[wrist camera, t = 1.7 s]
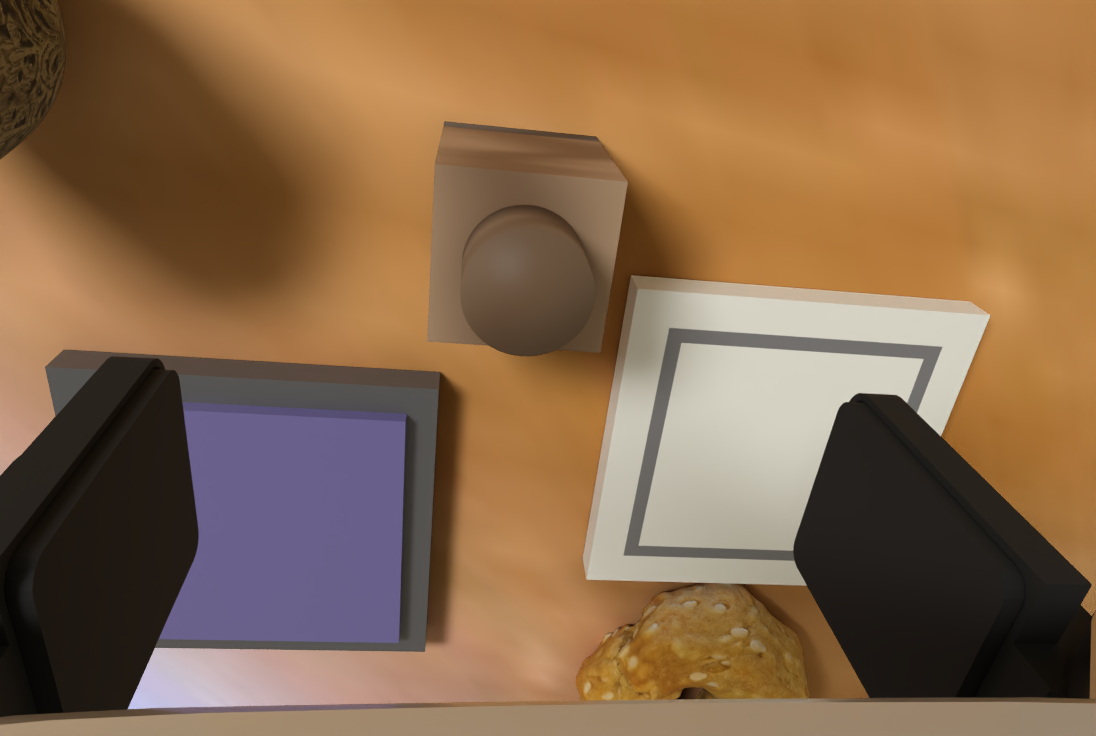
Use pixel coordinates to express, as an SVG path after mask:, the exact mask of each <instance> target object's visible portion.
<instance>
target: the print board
mask: <svg viewBox="0 0 1096 736" xmlns="http://www.w3.org/2000/svg"><path fill="white" fill-rule="evenodd" d="M989 318H990V315H989V314H988V313H986V312H985V311H983V310H982V309H980V308H979V307H977V306H976V305H974V304H973V303H971V302H970V301H957V300H944V299H932V298H919V297H906V296H893V295H880V294H867V293H854V292H841V291H828V290H815V289H803V288H790V287H777V286H764V285H751V284H738V283H725V282H712V281H699V280H687V279H674V278H661V277H648V276H635V275H631V278H630V284H629V290H628V296H627V301H626V307H625V313H624V319H623V325H622V331H621V337H620V343H619V348H618V354H617V360H616V366H615V372H614V378H613V384H612V390H611V395H610V401H609V407H608V413H607V419H606V425H605V431H604V436H603V442H602V448H601V454H600V460H599V466H598V472H597V478H596V483H595V489H594V495H593V501H592V507H591V513H590V519H589V525H588V530H587V536H586V542H585V548H584V554H583V562H584V568H585V574H586V579H587V580H620V581H657V582H694V583H731V584H768V585H805V586H807V585H806V583H805V581H804V579H803V577H802V576H801V574H800V572H799V570H798V569H797V566H796V564H795V560H794V554H793V547H794V541H795V538H796V535H797V532H798V529H799V526H800V523H801V520H802V517H803V514H804V511H805V508H806V505H807V502H808V499H809V496H810V493H811V490H812V487H813V484H814V481H815V478H816V475H817V472H818V469H819V466H820V463H821V460H822V457H823V454H824V451H825V448H826V445H827V442H828V439H829V436H830V433H831V430H832V427H833V424H834V421H835V418H836V415H837V412H838V410H839V407H840V406H841V405H842V404H843V403H845V402H849V401H850V400H851V398H852V397H853V396H854V395H856V394H858V393H869V394H889V395H898V396H899V397H901V398H902V399H903V400H904V401H905V402H906V403H907V404H908V405H909V406H910V407H911V408H912V409H913V410H914V411H915V412H916V413H917V414H918V415H919V416H920V417H921V418H922V419H924V420H925V421H926V422H927V423H928V424H929V425H930V426H931V427H932V428H933V429H934V430H935V431H936V432H937V433H938V434H939V435H940V436H941V435H942V433H943V430H944V428H945V425H946V423H947V420H948V418H949V415H950V413H951V411H952V408H953V406H954V403H955V401H956V398H957V396H958V393H959V391H960V389H961V386H962V384H963V381H964V379H965V376H966V374H967V371H968V369H969V367H970V364H971V362H972V359H973V357H974V354H975V352H976V349H977V347H978V345H979V342H980V340H981V337H982V335H983V332H984V330H985V328H986V325H987V323H988V320H989Z"/></svg>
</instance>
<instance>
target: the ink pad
mask: <svg viewBox="0 0 1096 736" xmlns="http://www.w3.org/2000/svg"><path fill="white" fill-rule="evenodd" d="M111 356H118V357H138V358H158V359H160V360H161V361H162V363H163V365H164V367H165V370H175V371H176V372H177V374H178V376H179V380H180V387H181V395H182V403H183V411H184V419H185V426H186V434H187V442H188V450H189V458H190V466H191V474H192V482H193V490H194V498H195V506H196V513H197V521H198V530H199V540H198V548H197V552H196V556H195V558H194V561H193V563H192V565H191V568H190V570H189V572H188V574H187V577H186V579H185V581H184V583H183V586H182V588H181V590H180V592H179V595H178V597H177V599H176V601H175V603H174V606H173V608H172V610H171V612H170V615H169V617H168V619H167V621H166V624H165V626H164V628H163V630H162V633H161V635H160V637H159V639H158V642H157V644H156V646H155V648H213V649H280V650H348V651H416V652H425V645H426V632H427V615H428V596H429V577H430V558H431V539H432V519H433V500H434V481H435V462H436V443H437V424H438V405H439V385H440V372H430V371H413V370H396V369H379V368H363V367H346V366H329V365H312V364H296V363H279V362H262V361H245V360H228V359H212V358H195V357H178V356H161V355H145V354H128V353H111V352H94V351H78V350H63V351H62V352H61V353H60V354H59V355H58V356H56V357H55V358H54V359H53V360H52V361H51V362H50V363H49V364H48V365H47V366H46V367H45V369H46V373H47V378H48V383H49V387H50V392H51V397H52V401H53V406H54V411H55V415H56V416H57V414H58V413H59V412H60V411H61V410H62V409H63V408H64V407H65V406H66V404H67V403H68V402H69V401H70V400H71V399H72V398H73V397H74V395H75V394H76V393H77V392H78V391H79V390H80V389H81V388H82V386H83V385H84V384H85V383H86V382H87V381H88V380H89V379H90V378H91V376H92V375H93V374H94V373H95V372H96V371H97V370H98V369H99V367H100V366H101V365H102V364H103V363H104V362H105V361H106V360H107V359H108V358H109V357H111Z"/></svg>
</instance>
